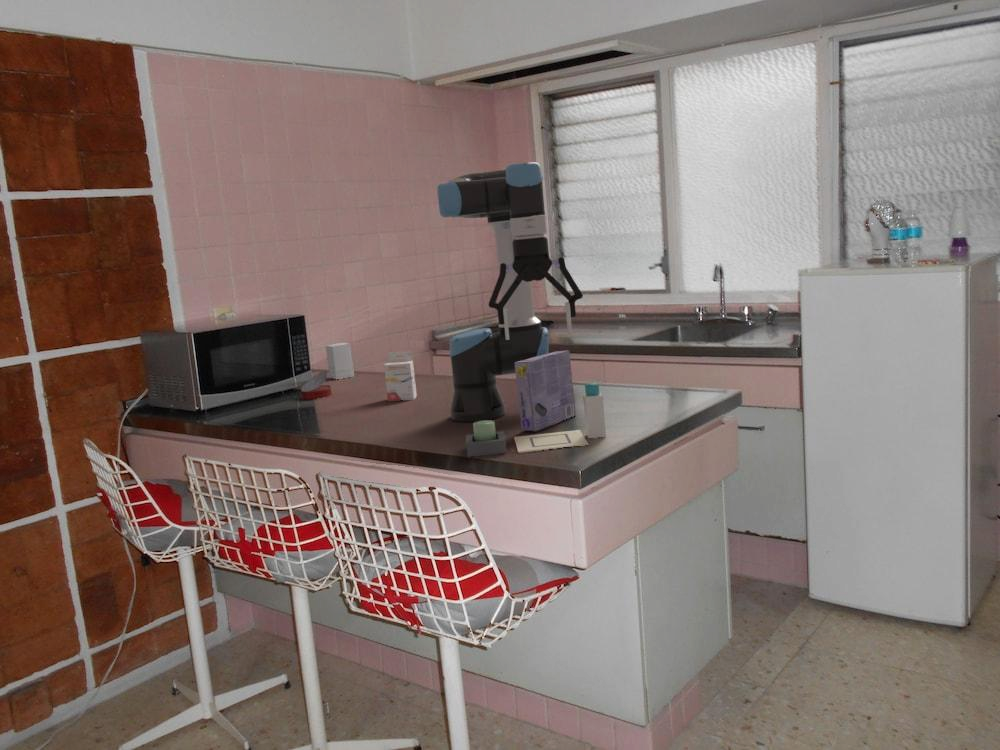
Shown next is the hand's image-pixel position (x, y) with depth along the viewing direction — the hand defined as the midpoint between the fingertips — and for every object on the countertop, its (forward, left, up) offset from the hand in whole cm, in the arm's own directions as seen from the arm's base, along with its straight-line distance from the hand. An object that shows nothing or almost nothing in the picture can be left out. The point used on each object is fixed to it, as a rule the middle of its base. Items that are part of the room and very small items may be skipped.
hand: (538, 336), depth 194 cm
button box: (-10, -14, -27) cm, 32 cm away
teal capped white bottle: (-12, +12, -27) cm, 32 cm away
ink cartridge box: (-84, -38, -27) cm, 96 cm away
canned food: (-105, -68, -27) cm, 128 cm away
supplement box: (-140, -64, -27) cm, 156 cm away
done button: (-10, -14, -25) cm, 30 cm away
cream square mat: (-11, +1, -27) cm, 29 cm away
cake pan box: (-30, +3, -27) cm, 40 cm away
